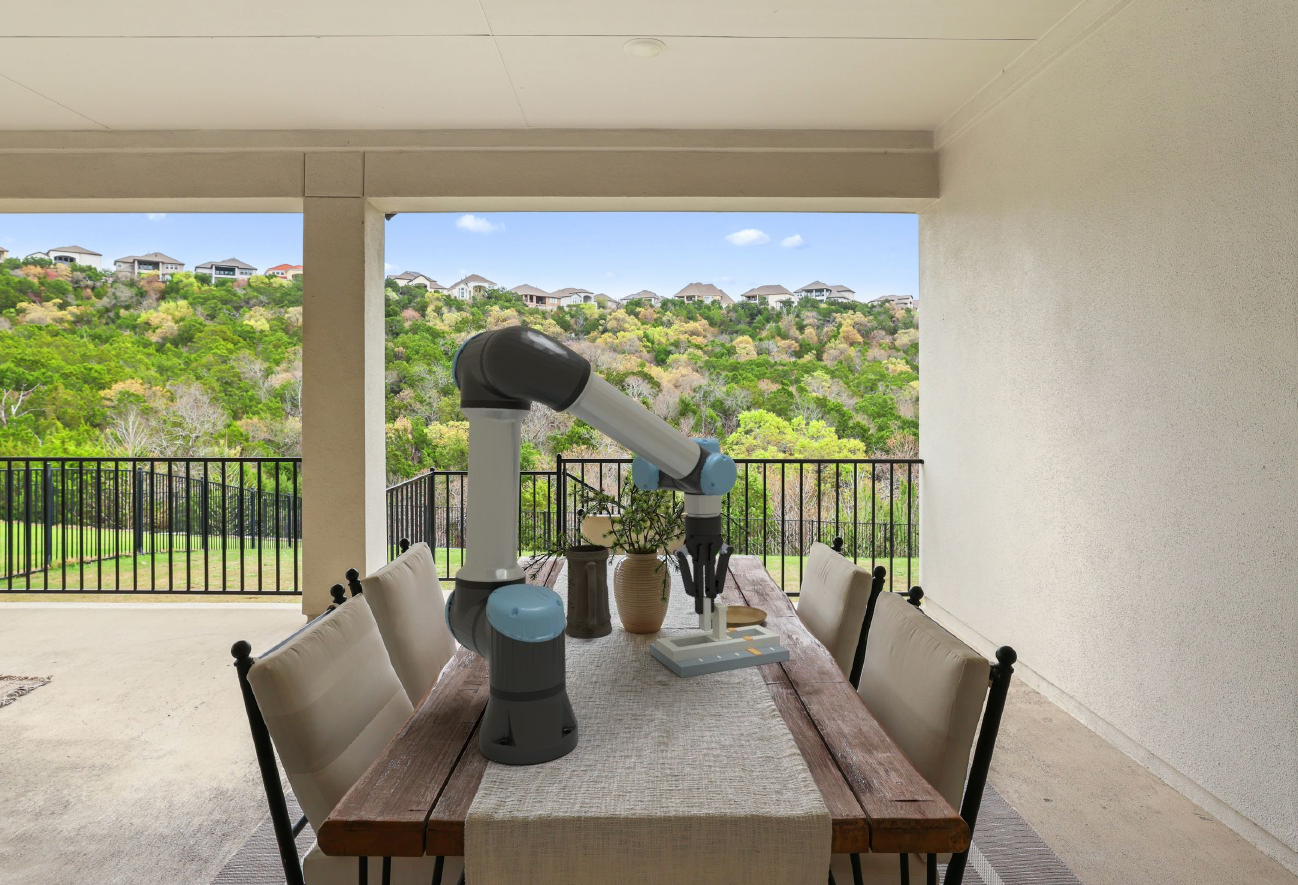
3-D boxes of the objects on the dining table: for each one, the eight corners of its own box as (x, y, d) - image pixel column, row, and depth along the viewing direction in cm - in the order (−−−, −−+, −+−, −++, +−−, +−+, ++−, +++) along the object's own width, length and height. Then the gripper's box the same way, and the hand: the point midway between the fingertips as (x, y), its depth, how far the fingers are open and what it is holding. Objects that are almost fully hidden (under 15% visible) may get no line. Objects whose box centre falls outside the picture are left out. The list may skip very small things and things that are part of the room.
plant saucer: (778, 629, 175) (778, 618, 175) (719, 636, 171) (719, 624, 170) (750, 613, 189) (750, 603, 189) (695, 619, 185) (695, 608, 184)
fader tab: (732, 647, 155) (732, 606, 154) (715, 649, 153) (714, 608, 153) (723, 641, 158) (723, 601, 158) (706, 644, 157) (705, 603, 156)
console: (789, 659, 153) (789, 639, 153) (681, 677, 144) (681, 655, 144) (750, 638, 168) (749, 619, 167) (649, 653, 159) (649, 633, 158)
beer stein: (559, 627, 179) (559, 544, 177) (603, 621, 182) (603, 540, 180) (577, 650, 164) (576, 560, 162) (623, 644, 168) (623, 556, 166)
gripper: (722, 509, 159) (724, 620, 160) (666, 514, 154) (668, 628, 155) (740, 514, 152) (742, 629, 153) (681, 518, 147) (683, 638, 148)
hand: (705, 628), depth 154 cm, fingers closed
